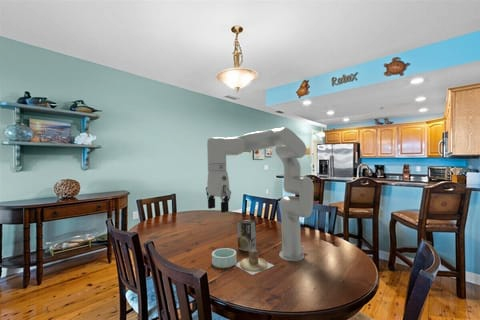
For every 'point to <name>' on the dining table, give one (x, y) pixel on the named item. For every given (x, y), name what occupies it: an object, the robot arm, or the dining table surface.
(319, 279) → the dining table surface
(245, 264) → the lid
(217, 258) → the bowl
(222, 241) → the dining table surface
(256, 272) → the mat
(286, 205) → the robot arm
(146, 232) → the dining table surface
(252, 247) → the coffee box
